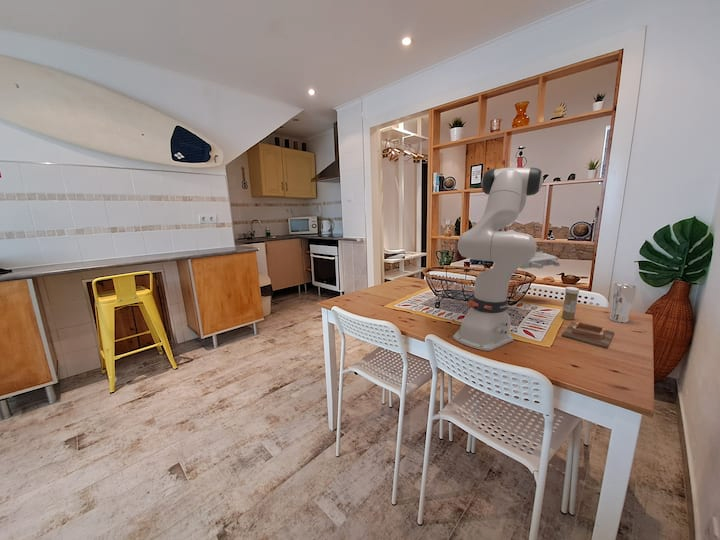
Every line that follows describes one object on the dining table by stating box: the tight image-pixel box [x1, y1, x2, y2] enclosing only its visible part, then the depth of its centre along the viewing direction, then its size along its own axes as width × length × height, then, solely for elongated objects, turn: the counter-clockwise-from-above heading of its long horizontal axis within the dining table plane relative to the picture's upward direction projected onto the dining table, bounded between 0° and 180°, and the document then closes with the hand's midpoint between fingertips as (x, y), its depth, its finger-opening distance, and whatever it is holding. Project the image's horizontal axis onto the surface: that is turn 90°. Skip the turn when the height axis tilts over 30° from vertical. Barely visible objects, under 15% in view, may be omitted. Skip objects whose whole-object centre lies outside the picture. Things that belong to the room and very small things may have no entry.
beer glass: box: [608, 282, 637, 324], centre depth 116 cm, size 7×7×15 cm
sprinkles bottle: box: [561, 286, 580, 321], centre depth 119 cm, size 5×5×14 cm
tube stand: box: [561, 321, 615, 349], centre depth 104 cm, size 16×13×3 cm
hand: (550, 265), depth 126 cm, fingers open, 8 cm apart
